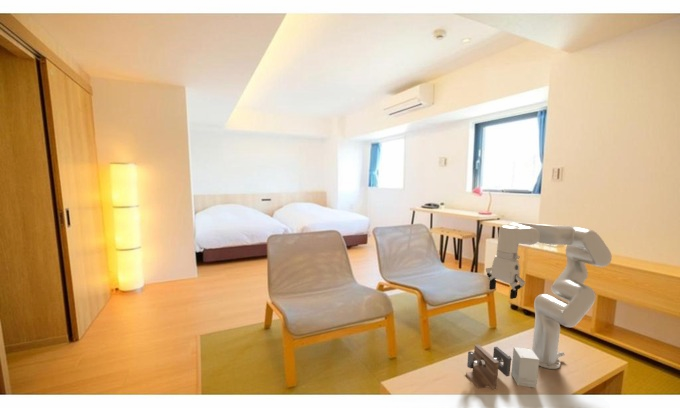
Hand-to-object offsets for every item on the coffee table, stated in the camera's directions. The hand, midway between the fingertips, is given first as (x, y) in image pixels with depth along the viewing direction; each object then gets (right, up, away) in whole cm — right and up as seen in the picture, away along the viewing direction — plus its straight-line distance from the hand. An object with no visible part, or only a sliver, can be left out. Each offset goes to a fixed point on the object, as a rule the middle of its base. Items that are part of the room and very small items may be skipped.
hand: (502, 293), depth 126 cm
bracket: (-11, -36, -2) cm, 38 cm away
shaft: (-7, -29, -2) cm, 30 cm away
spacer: (-1, -33, 0) cm, 33 cm away
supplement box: (+8, -37, -2) cm, 37 cm away
